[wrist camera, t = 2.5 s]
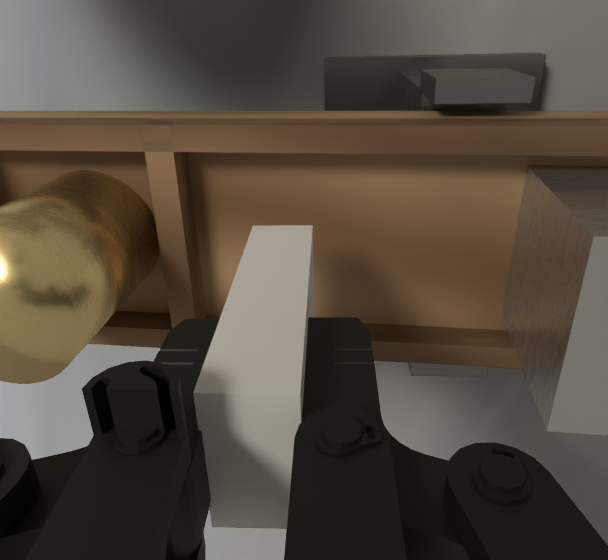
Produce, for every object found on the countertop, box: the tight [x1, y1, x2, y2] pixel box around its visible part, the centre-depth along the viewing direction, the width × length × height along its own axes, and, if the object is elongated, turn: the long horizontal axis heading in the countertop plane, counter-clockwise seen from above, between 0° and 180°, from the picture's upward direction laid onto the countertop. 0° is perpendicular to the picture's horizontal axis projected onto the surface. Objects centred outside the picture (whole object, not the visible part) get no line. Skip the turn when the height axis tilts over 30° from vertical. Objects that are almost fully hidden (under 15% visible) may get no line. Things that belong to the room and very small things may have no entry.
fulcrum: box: [325, 53, 546, 376], centre depth 19 cm, size 9×8×8 cm
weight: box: [0, 170, 160, 384], centre depth 14 cm, size 4×4×5 cm
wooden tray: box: [0, 111, 608, 369], centre depth 15 cm, size 7×30×3 cm, turn 91°
